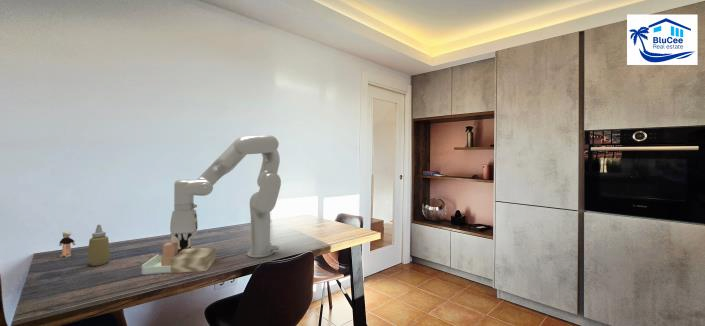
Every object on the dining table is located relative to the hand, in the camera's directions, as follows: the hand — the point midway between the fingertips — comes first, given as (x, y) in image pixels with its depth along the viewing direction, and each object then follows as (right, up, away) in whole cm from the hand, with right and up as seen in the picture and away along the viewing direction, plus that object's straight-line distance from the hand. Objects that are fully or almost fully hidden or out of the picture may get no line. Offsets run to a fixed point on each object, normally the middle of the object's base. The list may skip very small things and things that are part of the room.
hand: (183, 248), depth 130 cm
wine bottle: (-11, -8, +16) cm, 21 cm away
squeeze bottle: (-41, -8, +3) cm, 42 cm away
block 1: (-3, 0, -1) cm, 3 cm away
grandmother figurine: (-66, -8, +14) cm, 68 cm away
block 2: (-4, -5, -1) cm, 7 cm away
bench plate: (+4, -8, +1) cm, 9 cm away
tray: (-8, -8, -1) cm, 12 cm away
